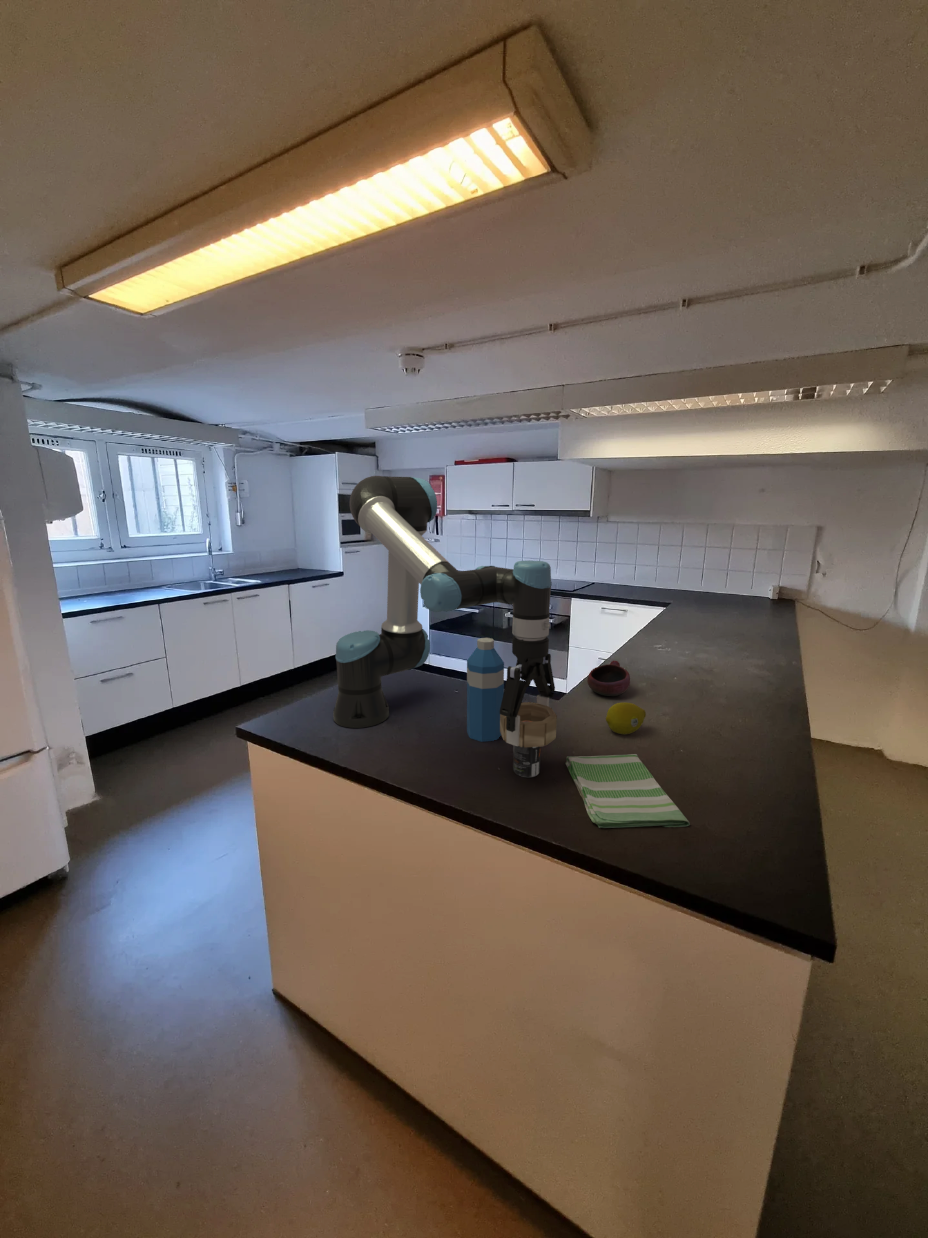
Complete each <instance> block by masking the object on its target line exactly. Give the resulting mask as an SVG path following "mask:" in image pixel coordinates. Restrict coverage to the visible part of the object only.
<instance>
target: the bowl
mask: <svg viewBox="0 0 928 1238" xmlns="http://www.w3.org/2000/svg"><path fill="white" fill-rule="evenodd" d="M630 675H631V674H630V673H629V672H628V671H627V669H625V668H624V667H622V666H621V664H620V662H619V661H618V660H612V661H611V662H610V663H608V664H604V665H600V666H597V667H594V668H592V670H590V672H589V673H588V676H587V679H586V680H587V685H588V687H589V688H590V690H591V691H593V692H595V693H596V694H599V695H601V696H604V697H606V696H607V697H617V696H619V695H622V694H623V693H625V692H626V691H627V690H628V689H629V687H630V684H631V678H630V677H631V676H630Z"/></svg>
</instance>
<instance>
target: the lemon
mask: <svg viewBox="0 0 928 1238" xmlns="http://www.w3.org/2000/svg"><path fill="white" fill-rule="evenodd" d="M646 717H647V713H646V710H645V709H644V708H642V707H640V706H639V705H636V704H635V703H632V702H624V701H623V702H617V703H614V704H612V705H611V706H610V707H609V708H608V710H607V713H606V716H605V722H606V723H607V725H608V728H610V730H611V731H612V732H614V733H616V734H619V735H630V734H633V733H635V732H636V731H638V730H639V729H640V727H642V725H643V723H644V721H645V718H646Z"/></svg>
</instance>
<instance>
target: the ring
mask: <svg viewBox="0 0 928 1238" xmlns="http://www.w3.org/2000/svg"><path fill="white" fill-rule="evenodd" d="M518 715H519V716H520V735H519V746H520V747H523V746H524V747H540V746H541V747H545V746H547V745H549V744H550V743H552V742H553V741H554V740H556V738H557V723H558V721H557V720H558V719H557V718H558V715H557V713H556V712H555V711H554V710H553V708H552V707H550V706H549V707H548V706H545V705H541V704H537V702H532V701H528V702H527V701H526V702H523V701H522V703H521V706H520V709H519V712H518ZM523 721H532V722H523ZM500 733H501V735H502V736H501V738H502V739H503V741H504V742H506V736H507V729H506V716H504V715H501V714H500Z"/></svg>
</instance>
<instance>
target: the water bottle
mask: <svg viewBox="0 0 928 1238" xmlns="http://www.w3.org/2000/svg"><path fill="white" fill-rule="evenodd" d="M476 642H477V643H476V644H477V645H476V648H474V649H475V650H473V652H472V653H471V655H470V656H469V657H468V658H467V659H466V733H467V736H468V737H469V739H472V740H475V741H478V742H481V743H482V742H491V741H492V742H495V741H494V740H496V741H497V740H498V739H500V738H501V737H502V735H501V733H500V713H499V712H500V707H501V703H502V698H503V694H504V689H505V685H504V684H505V662H504V660H503V659H502V657H501V656H500V654H499V653H498V652H497V651H496V649H495V640H494V639H493V638H492V637H491V638H490V637H481V638H477V641H476ZM500 736H501V737H500ZM499 737H500V738H499Z"/></svg>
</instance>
